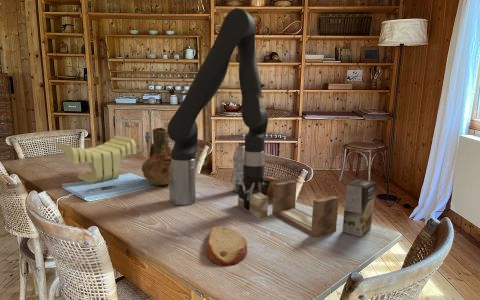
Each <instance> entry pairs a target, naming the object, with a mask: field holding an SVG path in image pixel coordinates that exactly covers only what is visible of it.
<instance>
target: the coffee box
mask: <svg viewBox="0 0 480 300" xmlns="http://www.w3.org/2000/svg"><path fill="white" fill-rule="evenodd" d="M376 186H377V182H376V181H371V180H368V179H367V180H366V179H360V178H356V179H354V180H352V181H349V182H347V183H346V187H345V188H346V191H345V198H344V209H343V210H344V211H343V219H342V220H343V221H342V232H343V233H346V234H350V235H353V236H355V237H360V238H361V237H362V236H363V235H364V234H366V233H367V232H368V231H370V230H371V229H372V223H373V214H374V204H375V197H376V196H375V195H376V188H377V187H376Z"/></svg>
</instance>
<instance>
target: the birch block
mask: <svg viewBox="0 0 480 300" xmlns="http://www.w3.org/2000/svg"><path fill="white" fill-rule="evenodd" d="M244 189H245V187H244ZM244 189H243V191H244ZM248 191H249V190H248ZM249 201H250V204H249V210H246V209H245V208H244V200H243V199H241V198H239V195H238V194H237V206H238V207H239V208H241V209H243V210H245V211H246V212H248V213H249V214H251V215H252V216H255V218H258V219H260V218H264V217H268V209H269V208H268V207H269V198H268V197H267V196H265V195H263V194H261V193H259V192H258V191H255V190H254V191H252V194H250V199H249Z"/></svg>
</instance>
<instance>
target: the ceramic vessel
mask: <svg viewBox="0 0 480 300" xmlns="http://www.w3.org/2000/svg"><path fill="white" fill-rule="evenodd" d="M152 141H153V142H152V143H151V144H150V151H149V158H148V159H146V160H145V161H144V162H143V163H142V165H141V171H142V172H143V173H142V174H143V176H144V179H146V180H147V181H148V182H149V183H151V184H152V185H156V186H165V185H169V177H171V151H172V148H171V146H170V145H169V136H168V133H167V128H164V127H157V128H156V127H155V128H153V129H152Z"/></svg>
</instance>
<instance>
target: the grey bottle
mask: <svg viewBox="0 0 480 300" xmlns="http://www.w3.org/2000/svg"><path fill="white" fill-rule="evenodd" d="M235 150H236V151H235V152H234V154H233V155H232V161H233V162H232V163H233V180H232V185H231V188H232V190H233V191H234V192H235V193H238V192H237V188H236V183H238V184H239V183H241V182H242V181H243V179H244V176H243V161H244V150H245V144H236V149H235ZM244 187H245V186H244Z"/></svg>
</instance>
